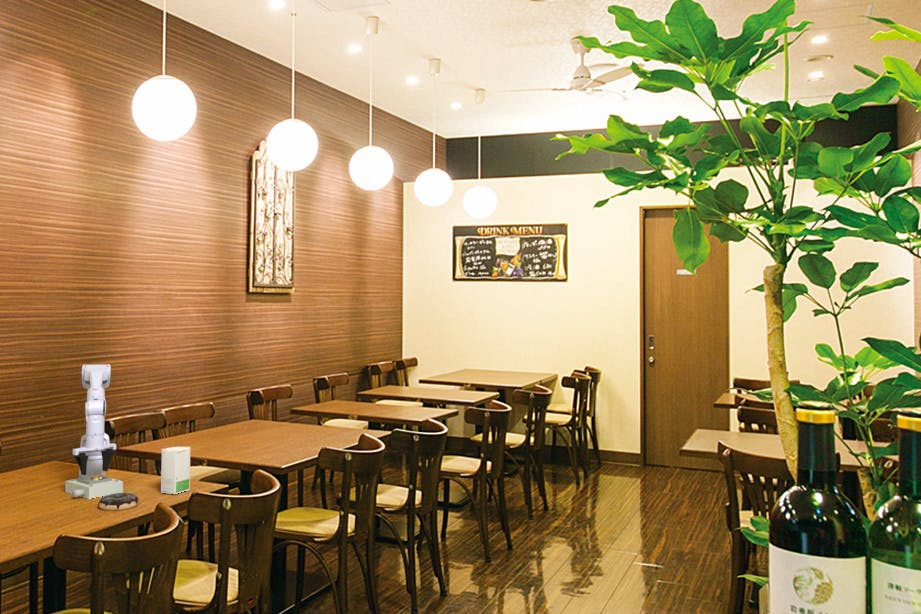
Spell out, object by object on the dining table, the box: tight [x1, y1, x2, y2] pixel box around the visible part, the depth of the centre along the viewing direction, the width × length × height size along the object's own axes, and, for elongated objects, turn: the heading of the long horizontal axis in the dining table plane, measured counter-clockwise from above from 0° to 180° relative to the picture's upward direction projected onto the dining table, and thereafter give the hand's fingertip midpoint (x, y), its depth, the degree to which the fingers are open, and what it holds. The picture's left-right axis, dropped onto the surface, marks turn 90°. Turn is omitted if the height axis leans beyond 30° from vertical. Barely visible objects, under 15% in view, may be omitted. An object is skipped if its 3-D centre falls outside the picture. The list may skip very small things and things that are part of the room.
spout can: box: [88, 475, 103, 481], centre depth 256 cm, size 6×4×6 cm
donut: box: [97, 492, 139, 512], centre depth 239 cm, size 11×12×4 cm
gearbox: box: [64, 475, 124, 500], centre depth 256 cm, size 16×15×5 cm
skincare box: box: [160, 446, 192, 496], centre depth 260 cm, size 8×7×16 cm
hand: (94, 472), depth 257 cm, fingers open, 7 cm apart
